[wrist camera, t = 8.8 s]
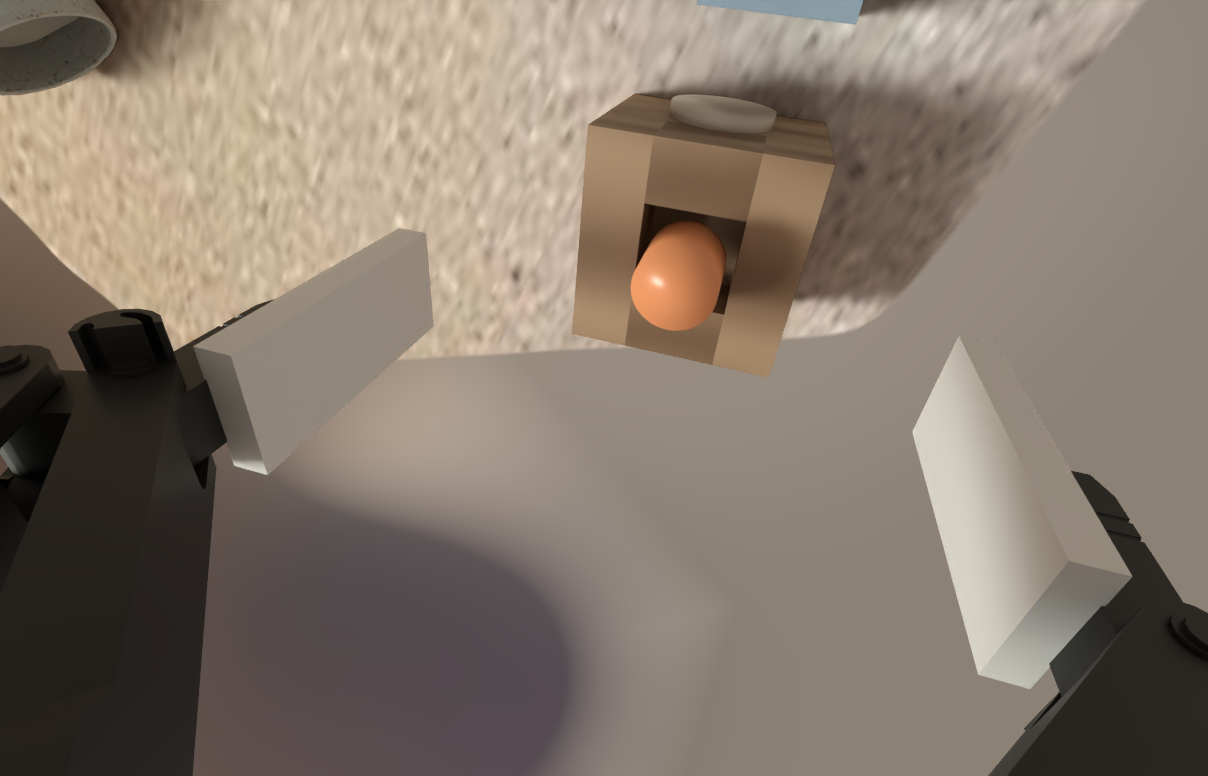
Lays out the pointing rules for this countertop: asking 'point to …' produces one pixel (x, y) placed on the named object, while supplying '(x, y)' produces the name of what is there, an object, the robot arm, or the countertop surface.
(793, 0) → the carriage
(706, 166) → the wooden box
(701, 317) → the orange rounded cylinder
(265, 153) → the countertop surface
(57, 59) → the ceramic mug
